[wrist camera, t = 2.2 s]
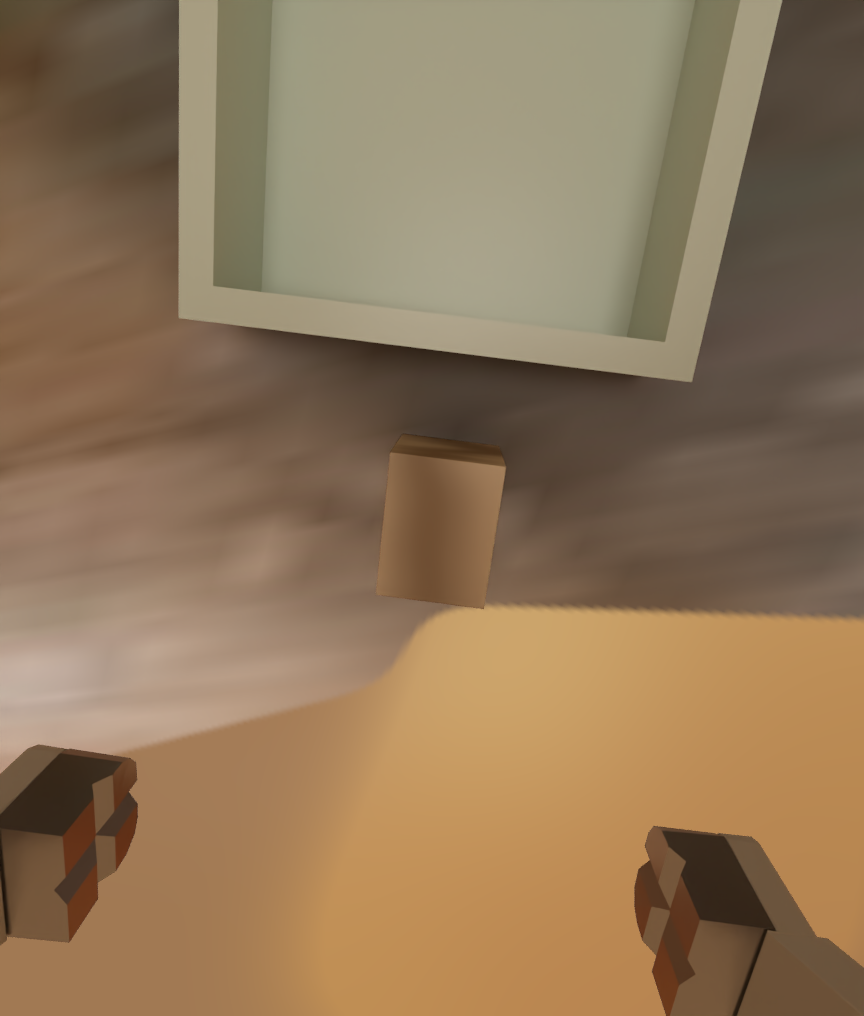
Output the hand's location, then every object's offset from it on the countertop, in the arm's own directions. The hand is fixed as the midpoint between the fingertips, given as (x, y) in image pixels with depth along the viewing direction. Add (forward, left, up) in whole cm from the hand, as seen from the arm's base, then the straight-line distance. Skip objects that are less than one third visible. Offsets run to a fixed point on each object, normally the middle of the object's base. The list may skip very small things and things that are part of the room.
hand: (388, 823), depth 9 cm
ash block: (0, 0, -20) cm, 20 cm away
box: (+1, -16, -20) cm, 25 cm away
